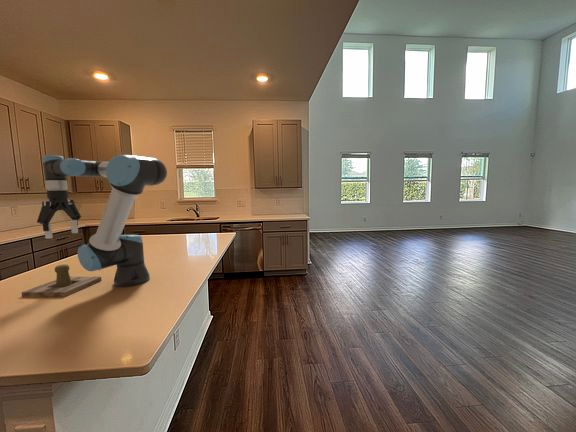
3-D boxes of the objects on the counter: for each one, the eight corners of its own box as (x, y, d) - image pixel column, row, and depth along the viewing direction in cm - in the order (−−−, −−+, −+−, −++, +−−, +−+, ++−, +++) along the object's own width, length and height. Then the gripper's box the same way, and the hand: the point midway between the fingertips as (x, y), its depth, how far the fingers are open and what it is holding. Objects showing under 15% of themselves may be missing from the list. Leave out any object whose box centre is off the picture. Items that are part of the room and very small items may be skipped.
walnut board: (101, 280, 132) (101, 276, 132) (64, 296, 112) (64, 292, 112) (64, 280, 134) (64, 276, 134) (21, 296, 114) (21, 292, 114)
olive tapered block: (63, 290, 119) (60, 267, 118) (52, 290, 121) (49, 266, 119) (76, 286, 125) (73, 263, 124) (65, 285, 127) (63, 263, 125)
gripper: (72, 190, 134) (77, 231, 136) (21, 190, 109) (28, 241, 112) (86, 189, 134) (91, 231, 136) (38, 190, 109) (45, 240, 111)
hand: (62, 235), depth 124 cm, fingers open, 13 cm apart
